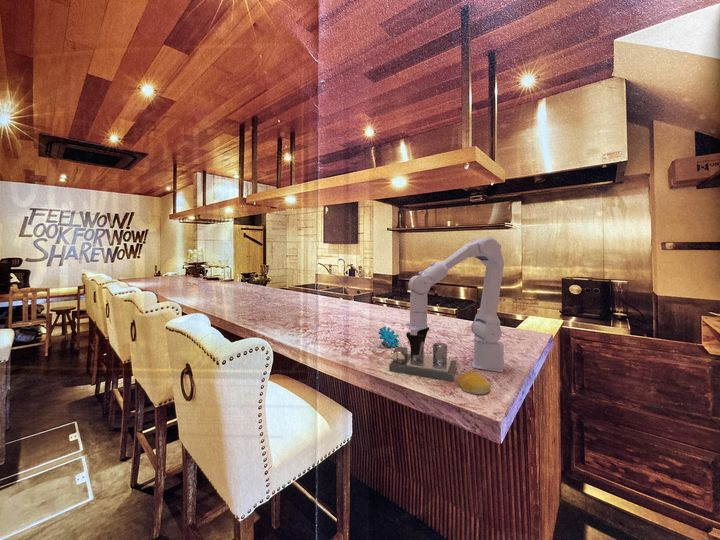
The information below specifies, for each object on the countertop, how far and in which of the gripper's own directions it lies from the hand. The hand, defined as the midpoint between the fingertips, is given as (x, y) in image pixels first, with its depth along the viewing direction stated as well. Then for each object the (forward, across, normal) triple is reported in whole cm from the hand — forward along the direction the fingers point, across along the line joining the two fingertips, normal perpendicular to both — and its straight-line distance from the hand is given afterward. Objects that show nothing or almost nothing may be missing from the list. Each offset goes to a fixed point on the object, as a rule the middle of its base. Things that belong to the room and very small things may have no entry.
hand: (417, 351), depth 98 cm
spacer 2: (+3, 0, +7) cm, 8 cm away
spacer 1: (+3, 0, 0) cm, 3 cm away
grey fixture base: (+6, 0, +2) cm, 6 cm away
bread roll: (+6, +8, +18) cm, 21 cm away
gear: (+6, -20, -16) cm, 26 cm away
